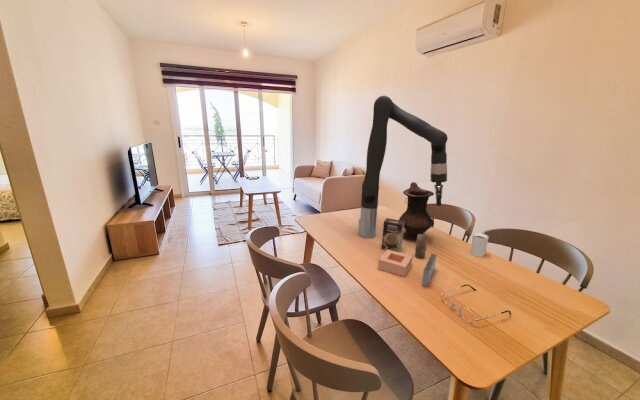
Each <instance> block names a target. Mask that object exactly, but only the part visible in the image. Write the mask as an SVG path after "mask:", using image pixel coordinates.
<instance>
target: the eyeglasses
mask: <svg viewBox="0 0 640 400" xmlns="http://www.w3.org/2000/svg"><path fill="white" fill-rule="evenodd" d="M467 286H468V287H470V289H472V290H473V291H475V292H476V291H478V290H477V289H475V288H474V287H473V286H472V285H470V284H464V285H460V286H459V287H455V288H452V289H449V290H447V291H445V292H442V293H441V294H440V295H441V297H442V300H443V303H445V305H447V302H446V301H445V298H444V295H445V294H446V295H447V296H448V297H449V298H450V300H451V306H449V305H448V307H449V309H451V308H454V307H456V306H458V312H459V314H460V316H461V318H463V319H465V317H464V316H463V314H462V312H463V308H464V309H466V310H468V311H469V312H470V313H471V316H472V320H471V321H470V320H467V321H468V322H469V323H472V322H473V321H475V322H478V321H481V320H485V319H488V318H491V317H494V316H498V315H503V314H506V313H509V314H511V310H510V309H509V310H505V311H502V312H499V313H497V314H492V315H488V316H485V317H481V318H475V315H474V314H473V312H472V311H471V310H470V309H469V308H468V307H466V306H462V307H461V306H460V305H459V304H457V303H456V302H455V301H453V299H452V297H451V295H450V294H449V292H452V291H454V290H455V291H456V290H457V289H459V288H463V287H467Z"/></svg>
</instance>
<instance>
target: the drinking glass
mask: <svg viewBox="0 0 640 400" xmlns="http://www.w3.org/2000/svg"><path fill="white" fill-rule="evenodd" d="M488 242H489V235H487V234H485V233H480V232H475V233H472V239H471V247H470V254H471V255H472V256H474V257H479V258H483V257H485V255H486V254H485V253H486V250H487V249H486V248H487V246H488Z"/></svg>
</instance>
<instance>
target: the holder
mask: <svg viewBox="0 0 640 400" xmlns="http://www.w3.org/2000/svg"><path fill="white" fill-rule="evenodd" d="M412 264H413V255H410V254H406V253H403V252H395V251H392V250H388V249H387V250H385V251H384V253H383V254H382V255H381V256H380V257H379V258H378V264H377V265H378V266H377V269H378V270H380V271H384V272H387V273H390V274H394V275H397V276H399V277H403V278H405V277H406V275H407V274H408V272H409V270H410V268H411V266H412Z"/></svg>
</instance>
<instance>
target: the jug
mask: <svg viewBox="0 0 640 400" xmlns="http://www.w3.org/2000/svg"><path fill="white" fill-rule="evenodd" d="M402 193H403V195H405V196H406V197H407V207H406V210H405V211H404V212H403V213H402V214H401V215H400V217H399V218H398V220H401V221H405V222H404V231H405V232H403V237H404V238H406V239H408V240H409V241H417V235H418V234H424V233H425V232H427V231H428V230H429V229H430V228H432V227H433V226H434V225H435V222H434V220H433V218H432V217H431V215H430V214H429V213H428V210H427V207H428V201H429V199H430V197H432V196H434V195H435V192H433V191H430V190H428V189H424V188H421V187H420V186H418V184H417V182H416V181H415V182H414V181H413V182H411V183H410V185H409V187H408V188H406V189H405V190H403V192H402ZM424 235H425V234H424Z"/></svg>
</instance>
